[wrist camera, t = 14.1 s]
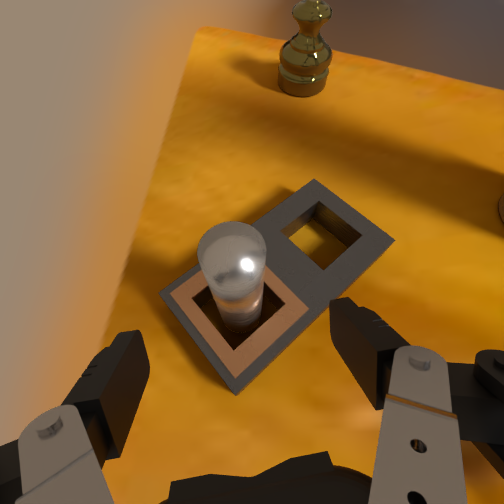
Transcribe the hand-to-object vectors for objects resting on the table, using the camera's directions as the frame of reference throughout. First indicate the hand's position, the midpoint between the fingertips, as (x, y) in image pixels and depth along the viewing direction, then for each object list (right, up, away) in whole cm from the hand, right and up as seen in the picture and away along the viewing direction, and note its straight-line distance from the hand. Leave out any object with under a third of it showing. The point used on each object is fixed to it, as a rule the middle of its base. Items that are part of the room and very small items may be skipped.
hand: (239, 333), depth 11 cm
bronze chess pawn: (+8, +29, +30) cm, 43 cm away
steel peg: (0, -2, +13) cm, 13 cm away
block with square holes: (+3, +1, +15) cm, 15 cm away
